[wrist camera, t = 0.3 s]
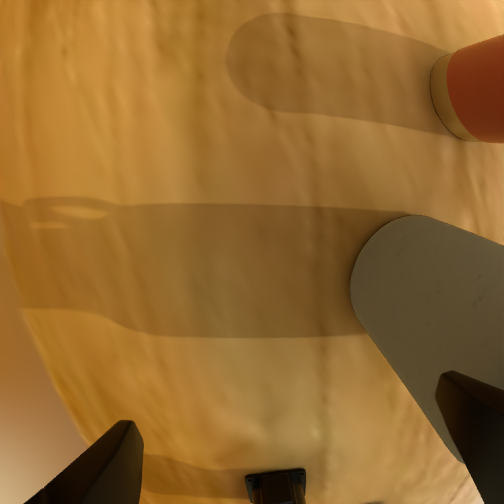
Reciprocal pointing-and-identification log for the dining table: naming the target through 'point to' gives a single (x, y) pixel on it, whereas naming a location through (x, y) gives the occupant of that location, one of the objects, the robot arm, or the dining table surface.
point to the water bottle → (432, 306)
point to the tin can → (472, 91)
